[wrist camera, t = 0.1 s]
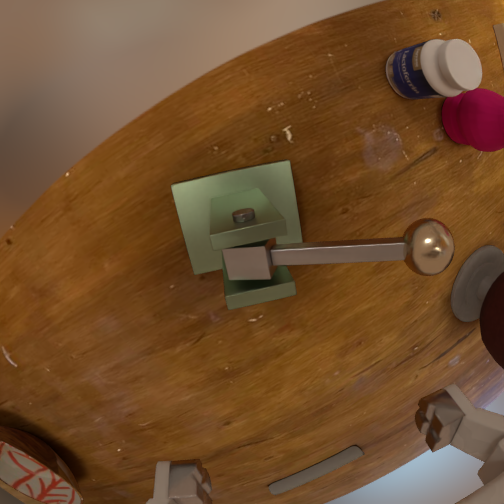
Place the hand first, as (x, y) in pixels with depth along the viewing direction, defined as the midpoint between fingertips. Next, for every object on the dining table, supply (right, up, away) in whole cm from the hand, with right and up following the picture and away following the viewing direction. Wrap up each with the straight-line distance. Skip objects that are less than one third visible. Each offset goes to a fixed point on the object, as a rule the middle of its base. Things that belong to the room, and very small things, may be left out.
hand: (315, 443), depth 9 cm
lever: (+4, +7, +11) cm, 13 cm away
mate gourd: (+32, +3, +29) cm, 43 cm away
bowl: (-45, -31, +32) cm, 63 cm away
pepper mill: (+23, +23, +20) cm, 38 cm away
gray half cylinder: (+10, -35, +40) cm, 54 cm away
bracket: (-3, +10, +21) cm, 24 cm away
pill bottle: (+14, +26, +18) cm, 35 cm away
